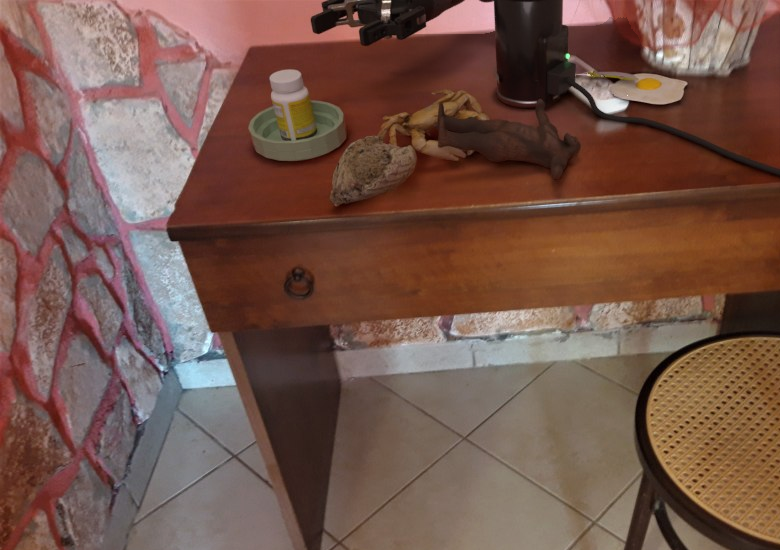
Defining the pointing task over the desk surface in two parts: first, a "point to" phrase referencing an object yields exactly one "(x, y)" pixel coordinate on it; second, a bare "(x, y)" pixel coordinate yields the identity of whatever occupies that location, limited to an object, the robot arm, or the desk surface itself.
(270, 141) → the dish
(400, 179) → the seashell
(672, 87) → the cracked egg
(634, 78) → the decorative knife
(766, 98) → the desk surface
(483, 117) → the crab model
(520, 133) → the figurine
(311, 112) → the supplement bottle
